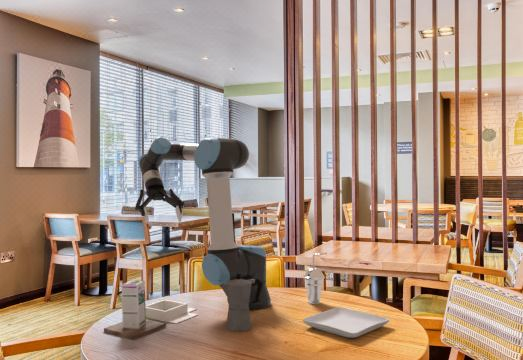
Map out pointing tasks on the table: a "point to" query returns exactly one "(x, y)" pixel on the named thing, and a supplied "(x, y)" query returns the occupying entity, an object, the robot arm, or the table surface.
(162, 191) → the robot arm
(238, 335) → the table surface
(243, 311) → the coffeepot
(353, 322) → the salad plate
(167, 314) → the open carton
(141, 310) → the syrup box
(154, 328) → the walnut board
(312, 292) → the cup with straw
